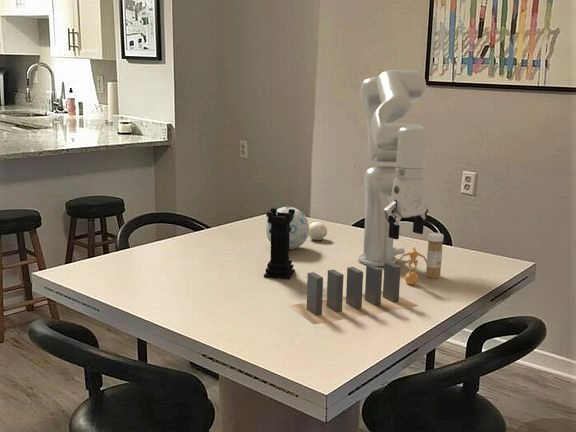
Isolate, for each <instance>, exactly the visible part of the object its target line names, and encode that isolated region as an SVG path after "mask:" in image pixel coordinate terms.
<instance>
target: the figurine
mask: <svg viewBox="0 0 576 432" xmlns="http://www.w3.org/2000/svg"><path fill="white" fill-rule="evenodd" d="M406 256H409V257H410V258H409V259H408V263H407V265H408V272H407V273H406V274H405V275H404V281H405V283H406V285H410V286H414V285H417V284H418V282H419V275H418V274H417V273H416V271H417V269H418V267H417V266H418V262H419V260H418V259H417V257H418V256H419V257H421V258H423V260H424V261H425V264H427V258H426V257H425V255H423V254H421V253H420V252H418V251H417V250H416V247H415V246H414V247H412V248H411V251H408V252H405V253H404V254H401V256H400V257H399V259H398V263H400V261H401V260H402V259H403V258H404V257H406ZM412 264H413V265H414V267H413V271H411V269H412V267H411V265H412Z"/></svg>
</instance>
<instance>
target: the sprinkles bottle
mask: <svg viewBox="0 0 576 432" xmlns="http://www.w3.org/2000/svg"><path fill="white" fill-rule="evenodd" d="M427 240H428V242H427V243H428V244H427V255H426V260H427V263H426V271H425V272H426V273H425V276H427V277H429V278H432V279H437V278H440V277H441V270H442V269H441V267H442V261H443V243H444V234H443V233H440V232H429V233H428V236H427Z"/></svg>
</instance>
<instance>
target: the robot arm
mask: <svg viewBox="0 0 576 432" xmlns="http://www.w3.org/2000/svg"><path fill="white" fill-rule="evenodd" d="M426 89H427V82H426V78H425V76H424V74H423V73H422V72H421V71H419V70H416V69H415V70H413V69H411V70H410V69H389V70H388V69H387V70H385V71H383V72H381V73H380V74H379V75H378V76H374V77H373V76H372V77H369V78H366V79H364V80H363V81H362V83H361V86H360V99H361V105H362V107H363V111H364V114H365V118H366V122H367V153H368V157H369V159H370V161H372V162H375V163H379V164H380V163H382V164H383V163H384V164H395V166H392V165H390V166H389V165H388V166H387V165H380V166H379V165H378V166H377V165H376V166H372V167H370V168H368V169H367V170H366V171H365V173H364V176H363V182H364V183H363V184H364V185H363V186H364V194H365V215H364V216H365V217H364V234H363V235H364V236H363V252H362V254H360V255H358V259H357V260H358V261H359V262H360V263H361V264H364V265H370V264H373V265H375V266H377V267H384V263H385V262H392V263H394V264H396V265H397V262H398V258H397V257H396V256H397V255H403V254H406V250H405V248H403V247H401V248H397V247H394V240H399V239H400V228H401V227H400V224H399V223H400V222H401V219H402V218H404V219H406V218H413V221H412V222H413V223H412V233H414V234H419V235H423V234H424V227H425V226H424V224H425V220H426V218H427V214H429V209H430V206H431V202H430V201H429V200H428V189H427V187H428V186H427V180H426V178H425V171H426V170H425V168H426V155H427V142H428V141H427V139H428V132H427V130H426V128H424V126H423V125H421V124H419V123H411V122H410V123H409V122H407V123H406V122H405V123H404V122H396V121H398V120H401V119H403V118H404V117H405V116H407V115H408V114H409V113H410V112H411V109H412V104H414V103H416V102H417V101H419V100H421V99H422V98H423V97H424V95H425V93H426ZM388 197H390V200H389V198H388Z"/></svg>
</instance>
